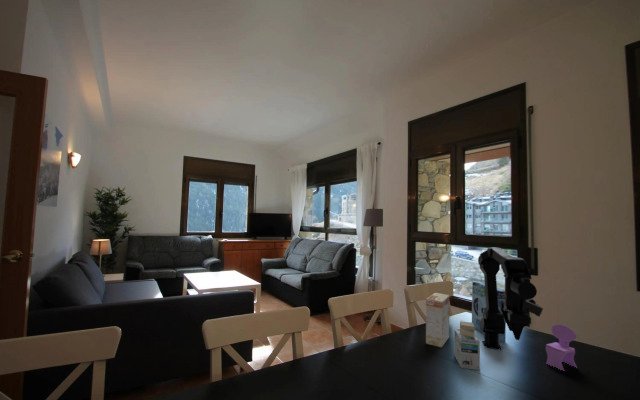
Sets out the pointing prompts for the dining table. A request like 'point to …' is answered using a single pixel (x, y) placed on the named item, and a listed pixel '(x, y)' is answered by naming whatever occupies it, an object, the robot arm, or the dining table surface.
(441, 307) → the coffeecake box
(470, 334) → the birch block
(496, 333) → the robot arm
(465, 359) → the light bulb box
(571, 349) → the toy chair
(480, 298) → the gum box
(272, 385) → the dining table surface
